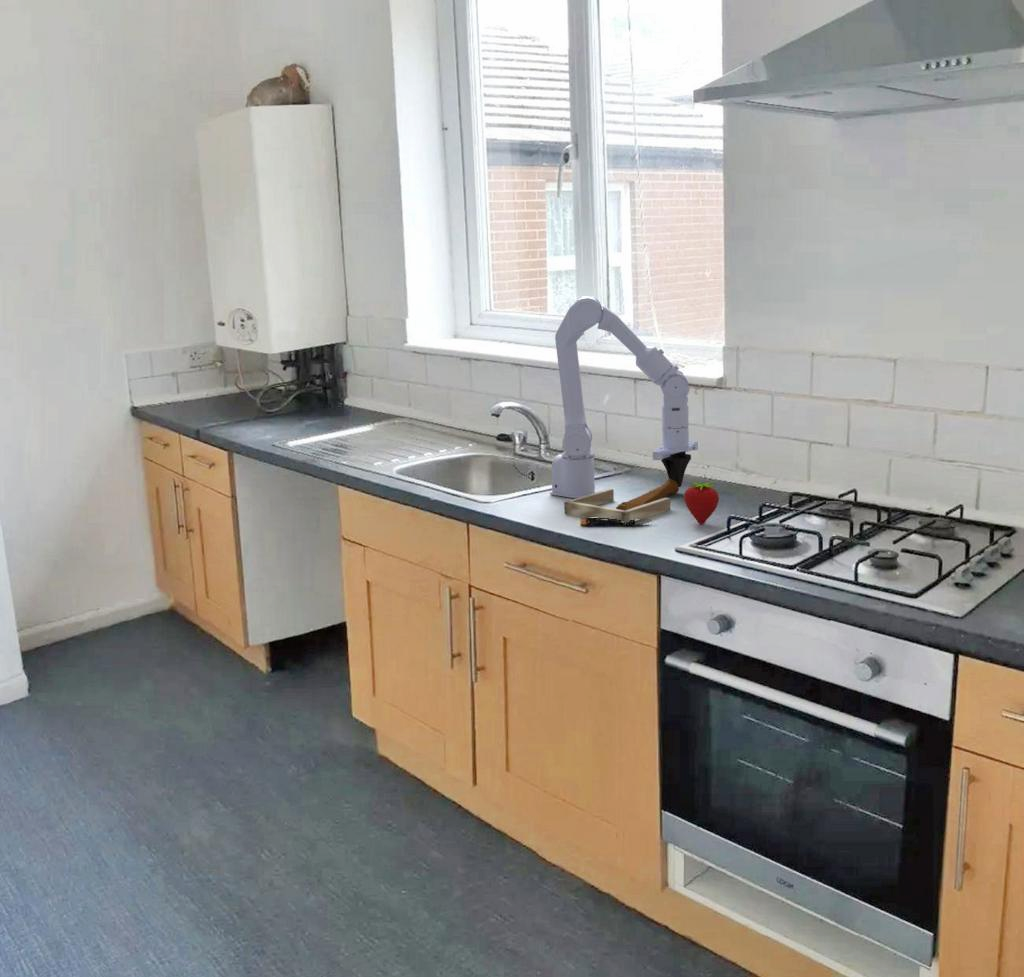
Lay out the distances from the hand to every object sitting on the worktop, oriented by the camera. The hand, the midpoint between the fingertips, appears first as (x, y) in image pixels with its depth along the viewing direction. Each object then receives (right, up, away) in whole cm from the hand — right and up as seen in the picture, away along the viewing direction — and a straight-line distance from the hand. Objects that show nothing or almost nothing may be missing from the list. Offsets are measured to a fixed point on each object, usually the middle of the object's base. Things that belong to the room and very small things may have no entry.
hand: (675, 486), depth 244 cm
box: (-14, -5, -14) cm, 21 cm away
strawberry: (+1, -8, -27) cm, 28 cm away
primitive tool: (-7, -4, -8) cm, 11 cm away
